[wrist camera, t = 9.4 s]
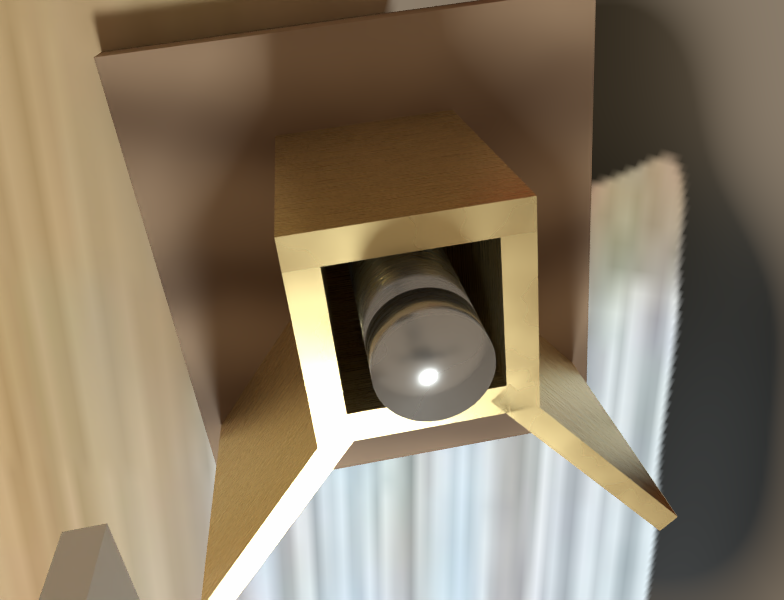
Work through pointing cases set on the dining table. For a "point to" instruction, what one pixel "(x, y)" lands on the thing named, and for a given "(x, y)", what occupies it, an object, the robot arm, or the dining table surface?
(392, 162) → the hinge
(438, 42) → the board
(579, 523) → the dining table surface
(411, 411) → the pin
